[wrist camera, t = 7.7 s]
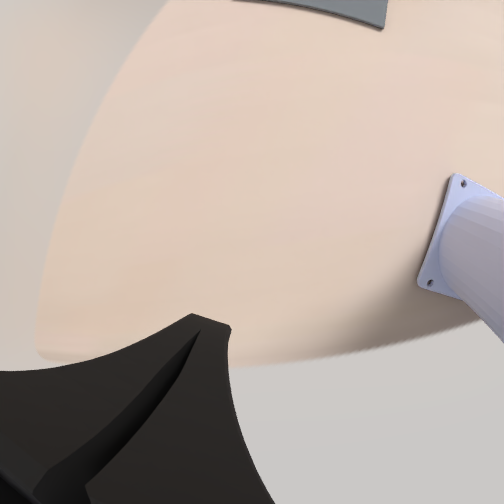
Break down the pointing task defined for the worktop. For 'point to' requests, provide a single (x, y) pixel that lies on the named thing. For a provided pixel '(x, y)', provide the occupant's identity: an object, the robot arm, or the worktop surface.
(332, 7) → the mat
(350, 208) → the worktop surface
